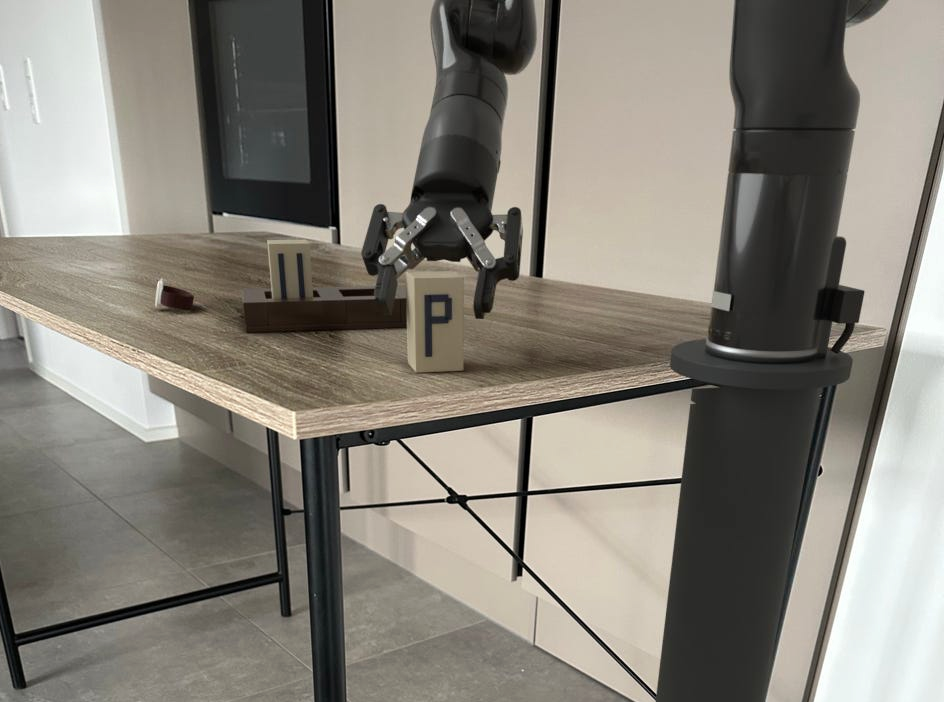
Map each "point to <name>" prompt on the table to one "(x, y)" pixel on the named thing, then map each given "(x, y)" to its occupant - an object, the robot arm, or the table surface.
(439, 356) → the letter P
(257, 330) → the rack
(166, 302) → the watch
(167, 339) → the table surface
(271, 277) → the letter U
